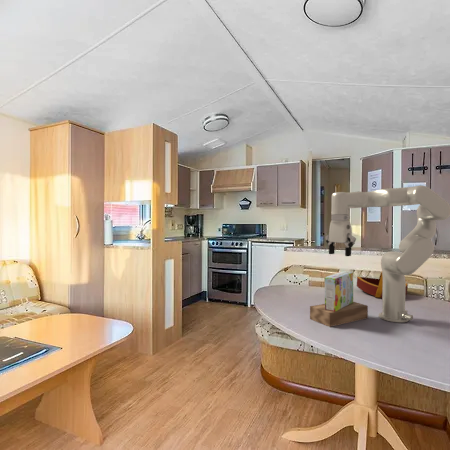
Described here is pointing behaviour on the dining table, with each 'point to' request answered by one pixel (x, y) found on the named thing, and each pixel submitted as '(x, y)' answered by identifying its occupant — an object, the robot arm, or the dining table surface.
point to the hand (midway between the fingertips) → (339, 255)
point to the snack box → (338, 290)
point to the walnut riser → (338, 314)
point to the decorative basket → (373, 285)
